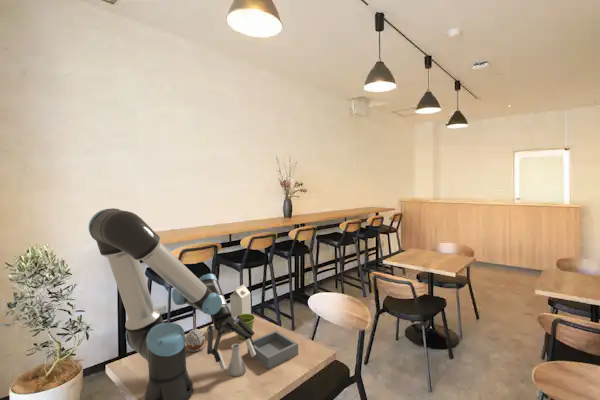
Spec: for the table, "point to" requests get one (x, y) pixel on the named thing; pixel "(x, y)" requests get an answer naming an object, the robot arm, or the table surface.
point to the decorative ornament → (195, 339)
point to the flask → (236, 362)
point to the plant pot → (247, 321)
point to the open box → (274, 349)
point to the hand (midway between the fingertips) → (239, 362)
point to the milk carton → (240, 301)
